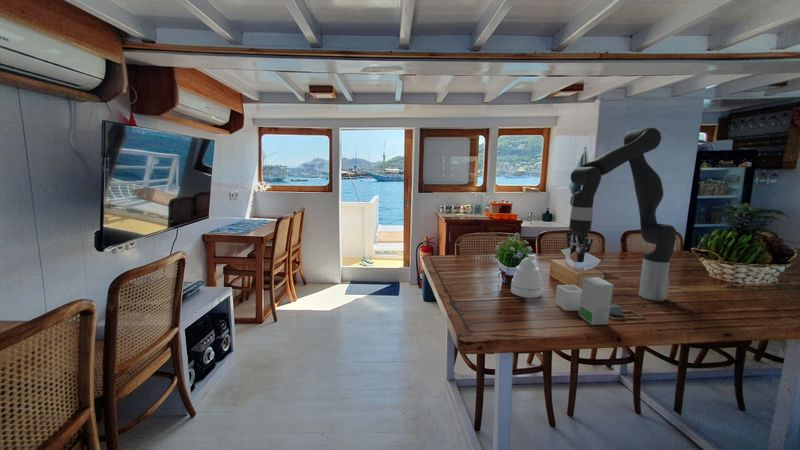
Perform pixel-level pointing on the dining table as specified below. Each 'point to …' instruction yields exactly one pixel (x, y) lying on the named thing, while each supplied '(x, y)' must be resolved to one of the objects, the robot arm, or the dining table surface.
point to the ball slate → (615, 310)
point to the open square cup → (568, 297)
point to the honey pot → (526, 279)
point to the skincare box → (595, 300)
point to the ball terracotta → (574, 256)
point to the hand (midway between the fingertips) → (576, 260)
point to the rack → (626, 316)
